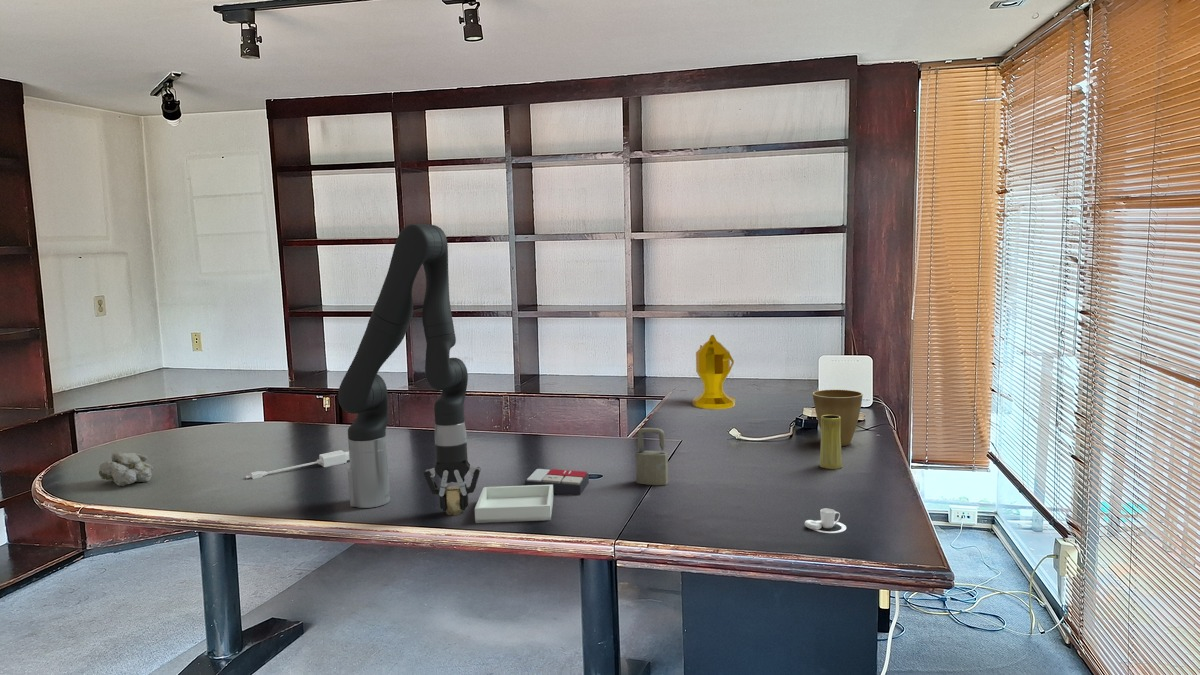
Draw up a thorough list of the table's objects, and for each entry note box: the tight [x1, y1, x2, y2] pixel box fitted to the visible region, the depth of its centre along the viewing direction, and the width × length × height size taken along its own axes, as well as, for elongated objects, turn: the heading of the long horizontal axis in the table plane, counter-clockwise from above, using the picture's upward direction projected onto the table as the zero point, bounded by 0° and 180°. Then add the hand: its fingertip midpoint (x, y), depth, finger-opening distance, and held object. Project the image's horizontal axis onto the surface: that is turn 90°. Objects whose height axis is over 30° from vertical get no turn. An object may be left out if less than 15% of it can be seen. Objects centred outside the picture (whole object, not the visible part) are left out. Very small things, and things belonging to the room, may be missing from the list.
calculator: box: [524, 468, 590, 496], centre depth 207 cm, size 11×4×15 cm
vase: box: [819, 415, 843, 470], centre depth 217 cm, size 6×6×14 cm
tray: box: [474, 485, 554, 524], centre depth 190 cm, size 18×17×4 cm
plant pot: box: [812, 389, 863, 447], centre depth 242 cm, size 15×15×16 cm
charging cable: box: [244, 449, 350, 480], centre depth 234 cm, size 5×32×3 cm, turn 124°
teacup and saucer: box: [804, 507, 847, 534], centre depth 172 cm, size 9×8×4 cm
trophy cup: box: [691, 334, 736, 410], centre depth 308 cm, size 18×24×28 cm
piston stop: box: [445, 485, 464, 516], centre depth 189 cm, size 4×4×6 cm
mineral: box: [98, 451, 155, 487], centre depth 224 cm, size 12×17×10 cm
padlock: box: [635, 427, 669, 486], centre depth 208 cm, size 4×8×15 cm, turn 70°
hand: (454, 509), depth 190 cm, fingers closed on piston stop, 4 cm apart
